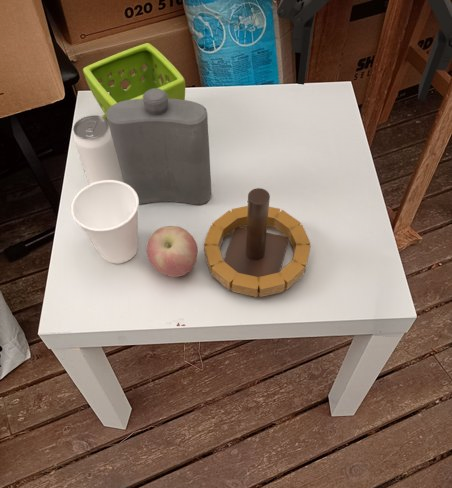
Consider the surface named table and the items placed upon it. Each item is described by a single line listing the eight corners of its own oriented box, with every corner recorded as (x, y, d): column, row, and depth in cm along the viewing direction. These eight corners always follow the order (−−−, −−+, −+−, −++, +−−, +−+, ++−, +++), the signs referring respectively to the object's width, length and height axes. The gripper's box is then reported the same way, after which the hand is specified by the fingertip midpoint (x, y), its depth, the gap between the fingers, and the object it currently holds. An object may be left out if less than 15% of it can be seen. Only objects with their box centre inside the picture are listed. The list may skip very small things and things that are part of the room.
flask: (212, 181, 90) (207, 82, 73) (211, 206, 87) (205, 108, 70) (129, 180, 91) (105, 82, 74) (125, 204, 88) (99, 108, 71)
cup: (134, 281, 79) (121, 238, 70) (78, 265, 81) (58, 220, 72) (158, 234, 84) (149, 188, 75) (105, 220, 86) (89, 173, 76)
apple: (140, 268, 81) (132, 237, 74) (174, 240, 83) (169, 207, 77) (176, 296, 78) (170, 266, 71) (209, 265, 81) (207, 234, 74)
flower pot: (158, 99, 102) (149, 39, 92) (193, 138, 96) (188, 79, 85) (96, 124, 99) (79, 65, 88) (127, 167, 92) (113, 109, 82)
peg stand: (287, 242, 83) (297, 179, 71) (276, 286, 78) (284, 227, 66) (235, 231, 84) (235, 167, 72) (220, 274, 80) (218, 213, 67)
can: (85, 193, 89) (66, 140, 79) (92, 167, 92) (74, 113, 82) (122, 194, 89) (107, 140, 79) (127, 168, 92) (113, 113, 82)
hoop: (315, 224, 83) (317, 215, 81) (296, 306, 75) (298, 298, 73) (221, 206, 85) (221, 197, 83) (193, 283, 77) (192, 275, 75)
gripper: (253, -147, 39) (248, 90, 57) (594, -124, 36) (474, 121, 54) (271, -180, 43) (261, 52, 61) (581, -162, 40) (473, 79, 58)
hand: (361, 85), depth 58 cm, fingers open, 13 cm apart
